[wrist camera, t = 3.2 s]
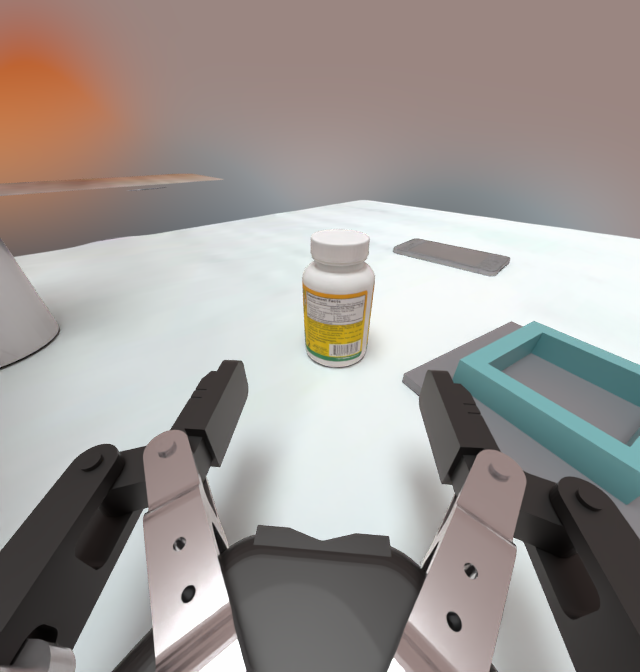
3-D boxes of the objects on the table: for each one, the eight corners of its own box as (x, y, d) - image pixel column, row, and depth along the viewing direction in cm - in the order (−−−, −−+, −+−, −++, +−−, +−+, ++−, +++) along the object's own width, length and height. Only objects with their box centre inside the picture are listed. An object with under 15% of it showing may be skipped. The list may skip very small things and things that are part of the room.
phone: (491, 281, 37) (495, 272, 36) (390, 255, 46) (391, 247, 45) (508, 265, 41) (512, 257, 41) (413, 244, 51) (415, 237, 50)
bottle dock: (402, 381, 20) (409, 352, 19) (508, 328, 26) (520, 302, 24) (669, 604, 10) (733, 583, 9) (743, 437, 16) (789, 406, 14)
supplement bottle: (346, 378, 20) (354, 253, 15) (292, 353, 23) (283, 238, 18) (377, 344, 24) (393, 233, 19) (327, 325, 27) (328, 223, 21)
